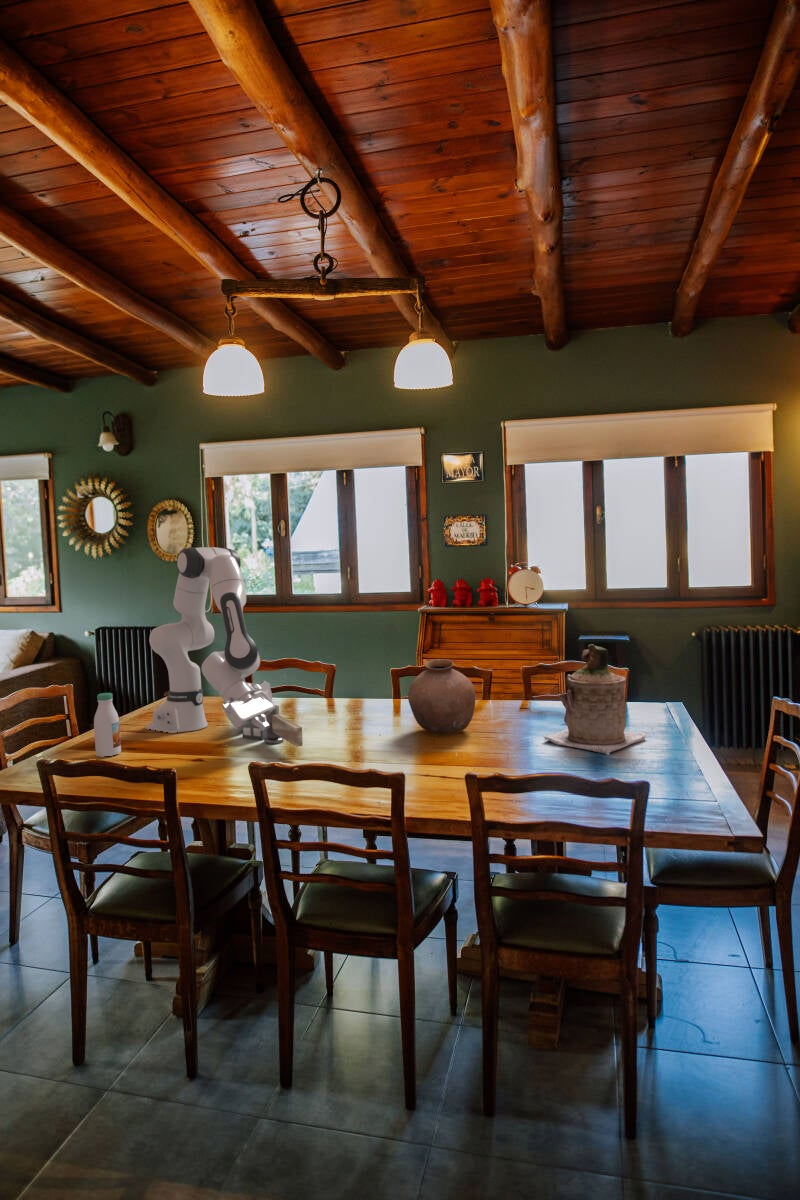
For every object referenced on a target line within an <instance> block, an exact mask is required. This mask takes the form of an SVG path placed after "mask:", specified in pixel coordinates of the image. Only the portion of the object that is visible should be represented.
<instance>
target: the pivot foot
mask: <svg viewBox="0 0 800 1200" xmlns="http://www.w3.org/2000/svg"><path fill="white" fill-rule="evenodd" d="M284 740H285V739H283V738H282V737H280V738H277V739H268V738H267V737H266V738H264V740H263V742H264V744H265V743H266V744H265V745H278V744H282V743H284Z"/></svg>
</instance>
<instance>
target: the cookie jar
mask: <svg viewBox="0 0 800 1200" xmlns="http://www.w3.org/2000/svg"><path fill="white" fill-rule="evenodd" d="M587 648H588V649H584V650H582V652H581V660H583V661H585V663H584V664H583V665H582V667H581V668H578V669H577V670H576V671H575V672H573V673H572V674H567V675H566V677H565V686H566V688H567V691H566V693H565V692H564V693H563V692H562V693H560V694H559V700H560V702H561V703H562V705H563V707H564V709H565V714H564V715H565V716H564V719H563V722H564V724H565V726H567V728H565V729H563V730H560V731H558V732H555V733H553V734H549V735H547V734H546V735H543V738H544V740H547V741H550V742H552V743H554V744H556V745H557V746H559V745H560V746H566V747H571V748H577V749H583V750H586V751H592V752H597V753H601V754H604V755H607V756H610V753H612V752H615V751H618V750H621V749H623V748H626V747H627V746H630V745H633V744H636V743H640V742H643V741H645V740H646V737H647V734H646V733H641V732H633V731H625V729H626V727H627V705H626V704H627V703H626V700H625V687H624V686H625V685H626V683H627V679H626V677H624V676H622V675H617V674H615V673H614V672H612V671H610V670H609V668H608V666H609V651H608V649H606V648H604V647H602V646H597V645H594V643H593V644H592V643H591V644H588V646H587Z"/></svg>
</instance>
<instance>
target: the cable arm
mask: <svg viewBox="0 0 800 1200" xmlns="http://www.w3.org/2000/svg"><path fill="white" fill-rule="evenodd" d="M274 706H275V708H274V709H273V711H272V712H271V713H270V714H268V715H266V720H267V722H268V723H269V725H270V727H269V728H268V729H267V738H268V739H277V738H280V737H282V738H283V740H285V741H286V742H288V743H290V744H291V745H293V746H295V747H296V748H297V747H302V746H303V744H304V743H303V727H302V726H300V725H298V724H296V723H295V722H293V721H291V720H290V719H287V718H286V717H284V716H282V715H281V714H280V706H279V705H275V704H274Z"/></svg>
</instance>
